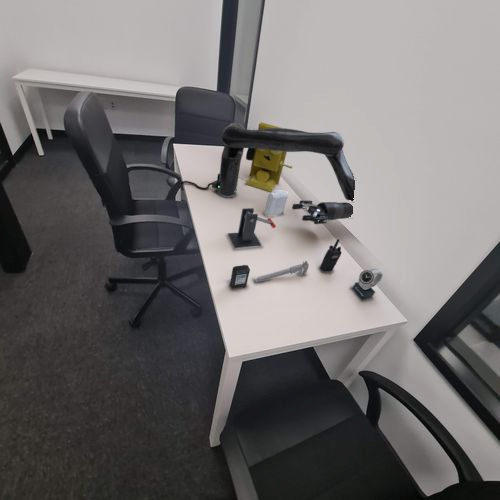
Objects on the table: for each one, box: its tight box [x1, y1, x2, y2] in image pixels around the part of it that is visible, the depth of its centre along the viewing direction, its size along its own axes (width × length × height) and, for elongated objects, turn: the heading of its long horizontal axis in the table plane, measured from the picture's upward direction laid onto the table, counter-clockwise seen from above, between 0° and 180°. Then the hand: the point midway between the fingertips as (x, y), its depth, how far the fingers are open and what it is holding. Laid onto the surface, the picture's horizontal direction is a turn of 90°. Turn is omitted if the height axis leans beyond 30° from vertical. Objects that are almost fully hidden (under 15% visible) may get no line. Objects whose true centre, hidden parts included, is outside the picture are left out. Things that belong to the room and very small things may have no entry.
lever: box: [244, 211, 277, 229], centre depth 101 cm, size 13×5×2 cm, turn 110°
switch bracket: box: [227, 207, 262, 249], centre depth 101 cm, size 11×9×14 cm
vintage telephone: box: [238, 122, 293, 193], centre depth 142 cm, size 31×14×30 cm, turn 73°
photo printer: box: [263, 189, 289, 217], centre depth 123 cm, size 10×4×12 cm, turn 123°
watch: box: [352, 268, 384, 301], centre depth 91 cm, size 6×8×11 cm
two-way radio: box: [319, 238, 342, 273], centre depth 97 cm, size 6×4×15 cm
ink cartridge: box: [229, 264, 251, 290], centre depth 84 cm, size 5×2×8 cm, turn 111°
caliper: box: [253, 260, 309, 283], centre depth 91 cm, size 20×1×6 cm, turn 112°
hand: (297, 212), depth 106 cm, fingers open, 8 cm apart
